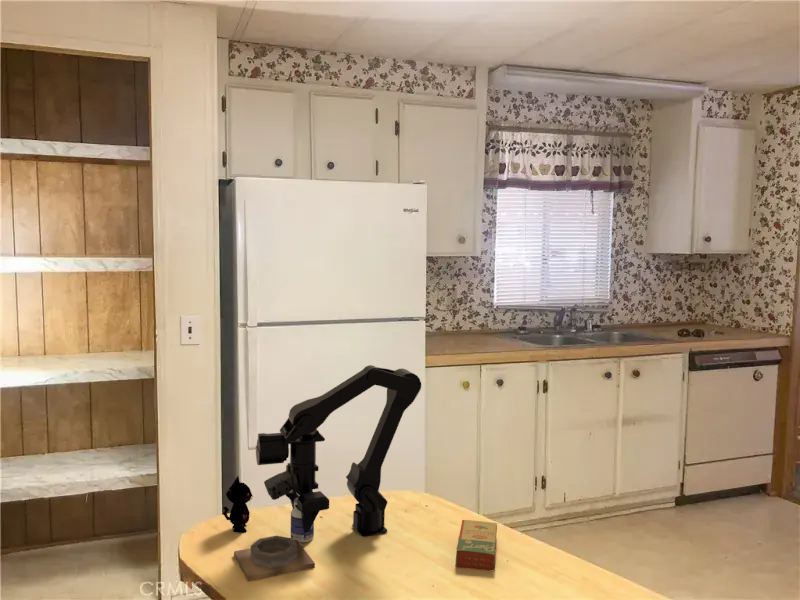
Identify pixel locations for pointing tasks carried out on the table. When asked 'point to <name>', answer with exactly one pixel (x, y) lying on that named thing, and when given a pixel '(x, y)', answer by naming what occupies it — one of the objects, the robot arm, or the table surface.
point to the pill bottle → (299, 526)
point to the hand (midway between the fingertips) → (302, 527)
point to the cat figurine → (238, 505)
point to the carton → (476, 545)
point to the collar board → (273, 558)
